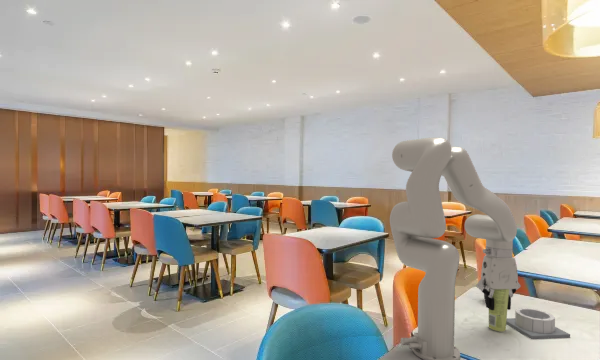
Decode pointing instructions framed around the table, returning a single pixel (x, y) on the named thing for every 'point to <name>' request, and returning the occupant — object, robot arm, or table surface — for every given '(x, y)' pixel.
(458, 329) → the table surface
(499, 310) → the tube
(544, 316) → the socket board
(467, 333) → the table surface
